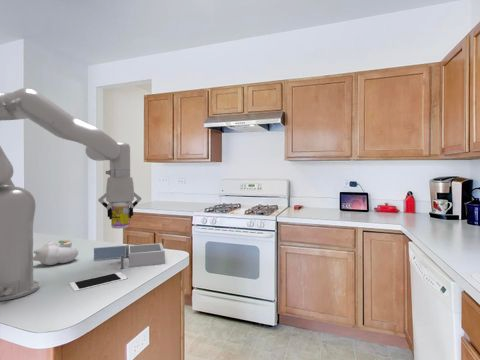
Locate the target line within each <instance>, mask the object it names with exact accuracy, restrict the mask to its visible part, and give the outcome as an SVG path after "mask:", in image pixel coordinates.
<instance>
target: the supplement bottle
mask: <svg viewBox="0 0 480 360" xmlns="http://www.w3.org/2000/svg"><path fill="white" fill-rule="evenodd" d="M129 208H130V205H129V203H128V202H118V203H112V205H111V216H112V219H110V220H111V222H110V223H111V225H110V227H111V228H112V229H125V228H128V227H130V218H129Z"/></svg>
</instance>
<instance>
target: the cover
mask: <svg viewBox="0 0 480 360" xmlns="http://www.w3.org/2000/svg"><path fill="white" fill-rule="evenodd" d="M129 253H130V245H129V244H126V245H115V246H114V245H113V246H101V247H93V260H103V259H105V260H106V259H115V258H121V255H124V258H129Z"/></svg>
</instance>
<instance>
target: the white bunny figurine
mask: <svg viewBox="0 0 480 360" xmlns="http://www.w3.org/2000/svg"><path fill="white" fill-rule="evenodd" d="M33 254H35V255H33V262H34V261H36V262H38V263H39V262H40V263H41V264H43V265H47V266H54V265H57V264H67V263H69V262H72V261H74V260H75V259H76V258H77V256H78V255H79V250H78V248H77V247H76V246H74V245H72V241H71V240H69V239H63V240H59V241H58V244H57V243H56V242H54V241H49V242H47V243H46V244H44V245H43V246H42V247H40V248H38V249H35V250H33Z"/></svg>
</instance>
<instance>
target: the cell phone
mask: <svg viewBox="0 0 480 360" xmlns="http://www.w3.org/2000/svg"><path fill="white" fill-rule="evenodd" d="M127 279H128V277H127V276H126V275H125V273H122V272H121V271H117V272H111V273H108V274H105V275H100V276H96V277H90V278H87V279H82V280H76V281H72V282H69V286H70V287H71V289H72V290H73V292H78V291H83V290H86V289H91V288H95V287H100V286H104V285H108V284H111V283H116V282H120V281H124V280H127Z"/></svg>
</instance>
